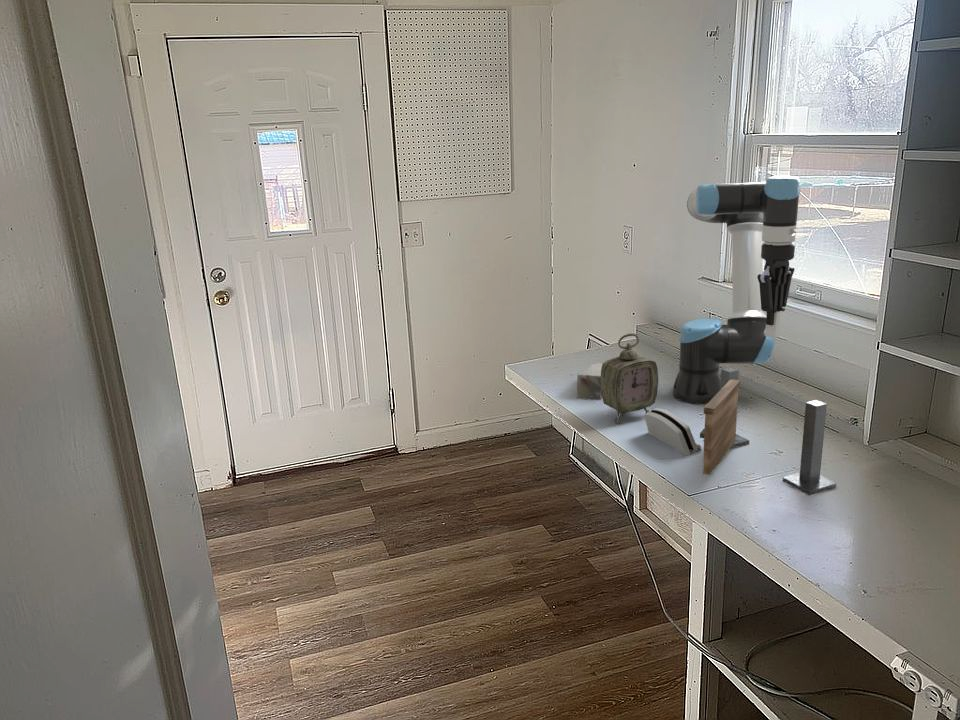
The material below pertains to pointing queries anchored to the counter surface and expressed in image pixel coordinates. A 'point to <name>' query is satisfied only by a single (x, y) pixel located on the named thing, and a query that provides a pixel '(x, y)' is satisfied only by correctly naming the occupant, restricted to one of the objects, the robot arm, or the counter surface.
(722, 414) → the gate leaf
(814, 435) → the gate frame
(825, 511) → the counter surface
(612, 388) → the tabletop clock
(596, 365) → the block
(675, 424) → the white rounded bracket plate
